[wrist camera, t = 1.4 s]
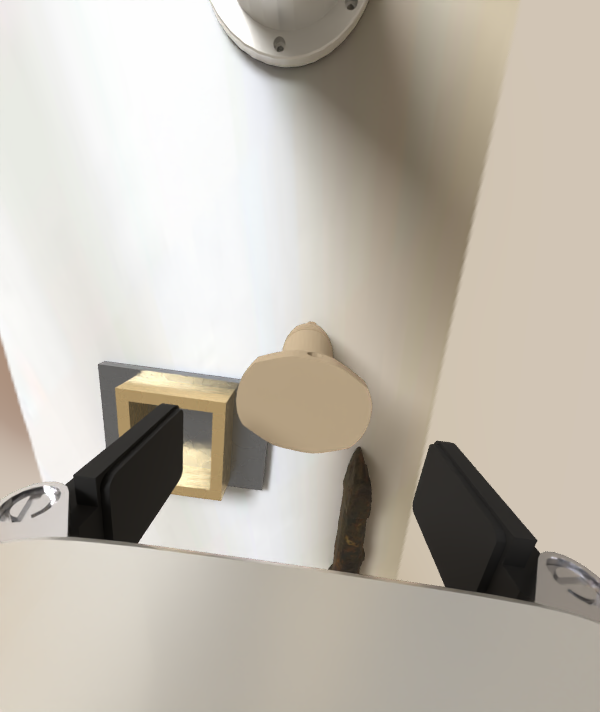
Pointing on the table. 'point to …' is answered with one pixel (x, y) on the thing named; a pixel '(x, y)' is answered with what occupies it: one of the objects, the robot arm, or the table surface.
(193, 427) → the collar base
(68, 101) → the table surface
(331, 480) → the table surface
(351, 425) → the handle
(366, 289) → the table surface
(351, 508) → the dark brown carved statuette
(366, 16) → the table surface
